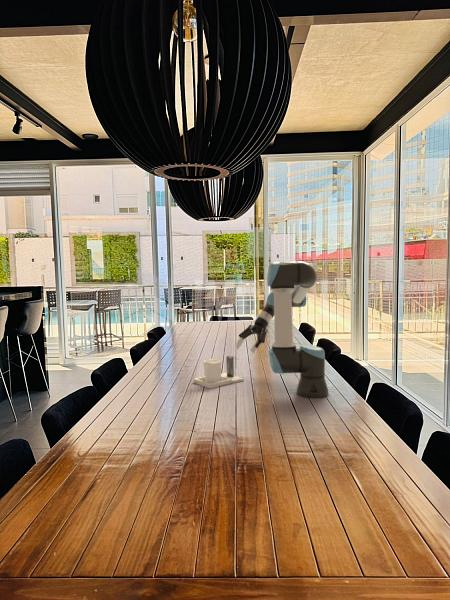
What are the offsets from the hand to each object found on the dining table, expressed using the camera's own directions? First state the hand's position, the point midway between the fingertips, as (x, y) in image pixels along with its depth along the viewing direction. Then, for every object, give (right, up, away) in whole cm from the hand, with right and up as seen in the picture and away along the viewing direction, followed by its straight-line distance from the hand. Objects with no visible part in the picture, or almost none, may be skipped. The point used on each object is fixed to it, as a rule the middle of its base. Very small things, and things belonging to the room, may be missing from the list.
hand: (243, 349), depth 245 cm
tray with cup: (-14, -16, -10) cm, 24 cm away
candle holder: (-17, -17, -12) cm, 27 cm away
